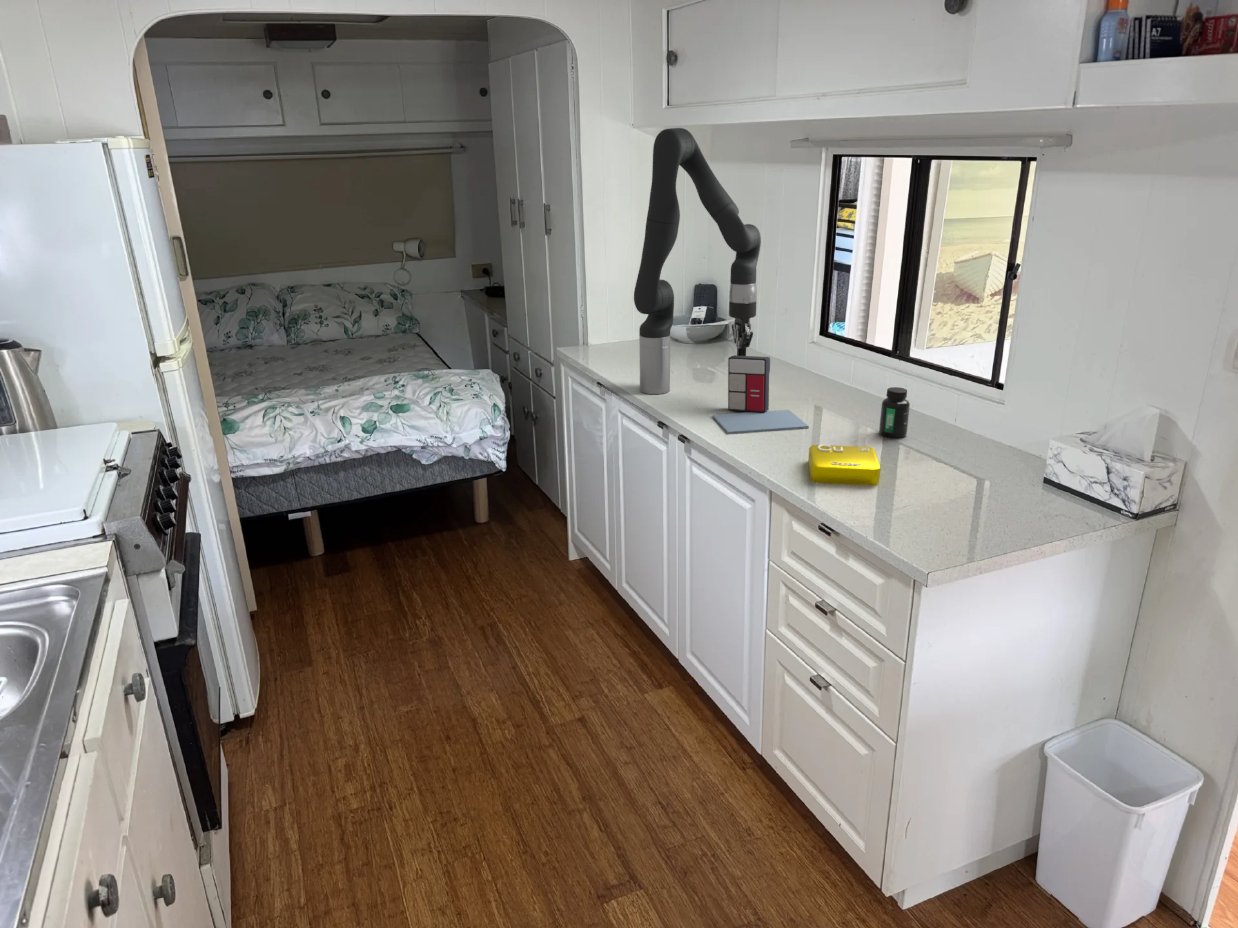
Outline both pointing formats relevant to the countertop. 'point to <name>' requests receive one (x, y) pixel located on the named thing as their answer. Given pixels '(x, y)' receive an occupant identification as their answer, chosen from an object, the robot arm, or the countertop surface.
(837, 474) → the element tile
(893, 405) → the supplement bottle
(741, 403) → the dark grey boxy piece
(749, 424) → the mat
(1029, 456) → the countertop surface
